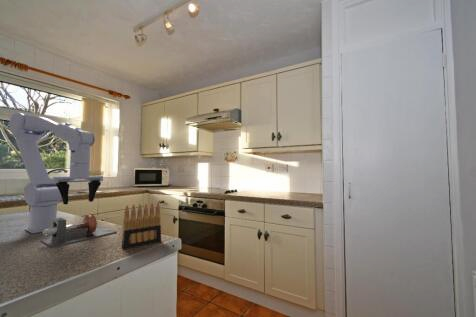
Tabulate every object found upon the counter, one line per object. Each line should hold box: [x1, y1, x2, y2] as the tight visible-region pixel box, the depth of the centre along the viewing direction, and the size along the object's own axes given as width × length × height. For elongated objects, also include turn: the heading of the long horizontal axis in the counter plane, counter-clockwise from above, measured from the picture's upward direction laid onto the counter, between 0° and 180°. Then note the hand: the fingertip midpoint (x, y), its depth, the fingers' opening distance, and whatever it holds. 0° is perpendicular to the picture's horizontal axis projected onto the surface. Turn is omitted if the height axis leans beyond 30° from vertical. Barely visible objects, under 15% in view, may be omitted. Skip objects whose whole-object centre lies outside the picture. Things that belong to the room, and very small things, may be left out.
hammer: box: [41, 214, 98, 236], centre depth 71 cm, size 6×14×6 cm, turn 145°
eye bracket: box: [40, 217, 118, 249], centre depth 73 cm, size 10×18×7 cm, turn 145°
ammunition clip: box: [121, 202, 162, 250], centre depth 66 cm, size 11×2×12 cm, turn 129°
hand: (78, 202), depth 78 cm, fingers open, 7 cm apart
